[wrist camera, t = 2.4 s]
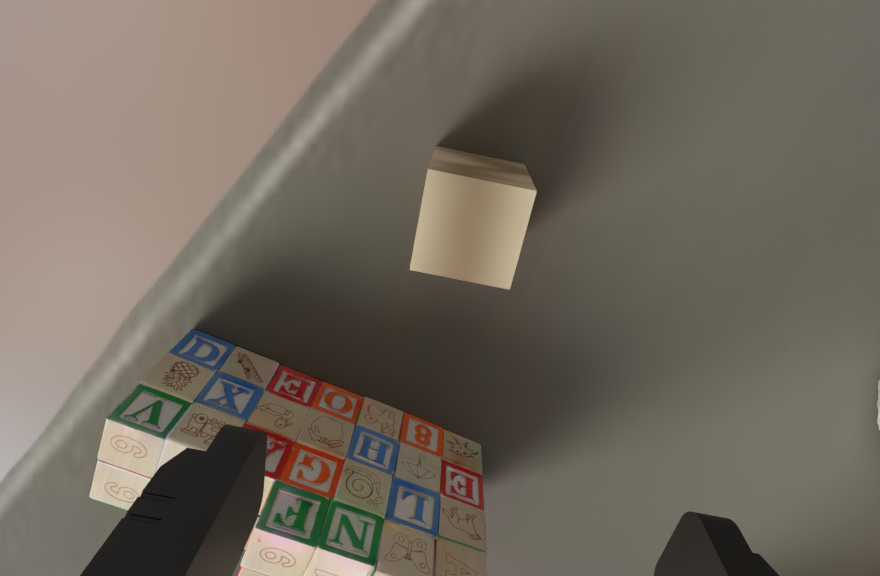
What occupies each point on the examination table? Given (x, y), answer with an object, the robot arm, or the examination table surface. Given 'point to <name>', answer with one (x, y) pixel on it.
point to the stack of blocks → (307, 466)
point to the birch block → (473, 218)
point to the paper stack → (878, 404)
